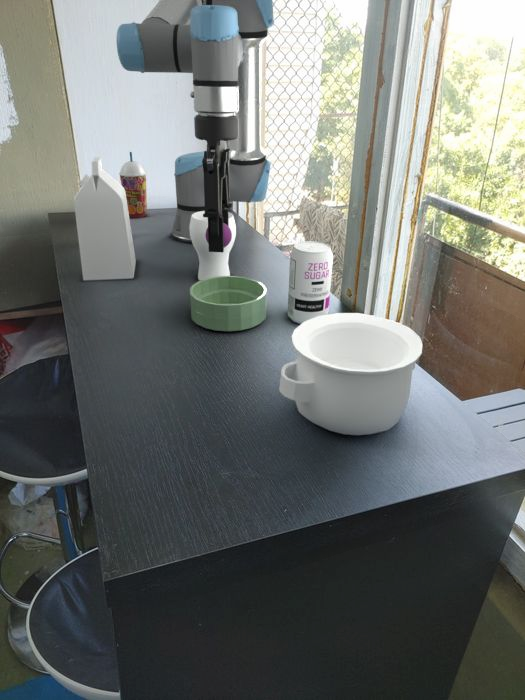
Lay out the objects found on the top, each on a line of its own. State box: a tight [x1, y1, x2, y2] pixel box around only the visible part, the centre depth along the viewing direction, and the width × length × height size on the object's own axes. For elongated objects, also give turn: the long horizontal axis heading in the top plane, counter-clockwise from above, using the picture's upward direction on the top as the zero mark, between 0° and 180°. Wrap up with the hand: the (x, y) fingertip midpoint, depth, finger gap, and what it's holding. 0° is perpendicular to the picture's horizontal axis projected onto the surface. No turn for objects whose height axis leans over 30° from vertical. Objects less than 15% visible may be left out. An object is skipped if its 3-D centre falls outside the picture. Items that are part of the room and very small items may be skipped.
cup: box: [189, 211, 237, 281], centre depth 122 cm, size 11×11×15 cm
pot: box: [278, 312, 424, 436], centre depth 75 cm, size 22×17×12 cm
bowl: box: [188, 275, 268, 332], centre depth 105 cm, size 15×15×6 cm
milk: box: [73, 156, 137, 281], centre depth 122 cm, size 12×12×26 cm
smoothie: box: [119, 151, 148, 219], centre depth 169 cm, size 8×8×20 cm
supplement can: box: [287, 240, 334, 325], centre depth 103 cm, size 8×8×15 cm
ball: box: [205, 223, 232, 247], centre depth 99 cm, size 5×5×5 cm
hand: (219, 246), depth 100 cm, fingers closed on ball, 5 cm apart
